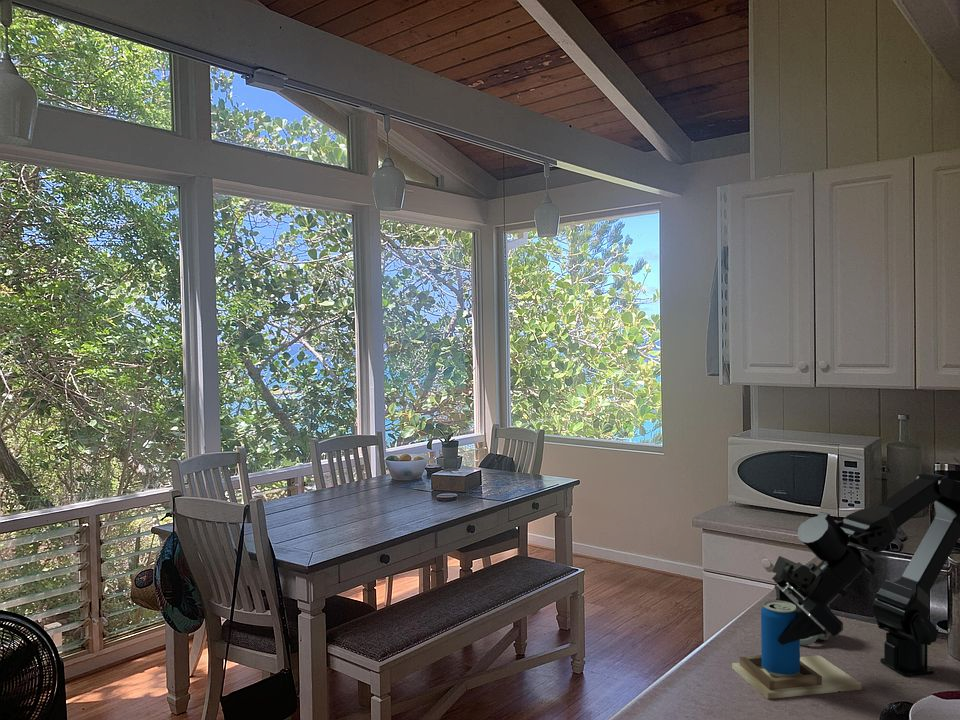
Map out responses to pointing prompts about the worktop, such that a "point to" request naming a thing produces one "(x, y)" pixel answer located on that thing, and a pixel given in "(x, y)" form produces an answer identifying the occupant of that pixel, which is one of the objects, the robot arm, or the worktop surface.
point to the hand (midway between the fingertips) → (772, 634)
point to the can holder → (796, 678)
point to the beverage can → (773, 653)
